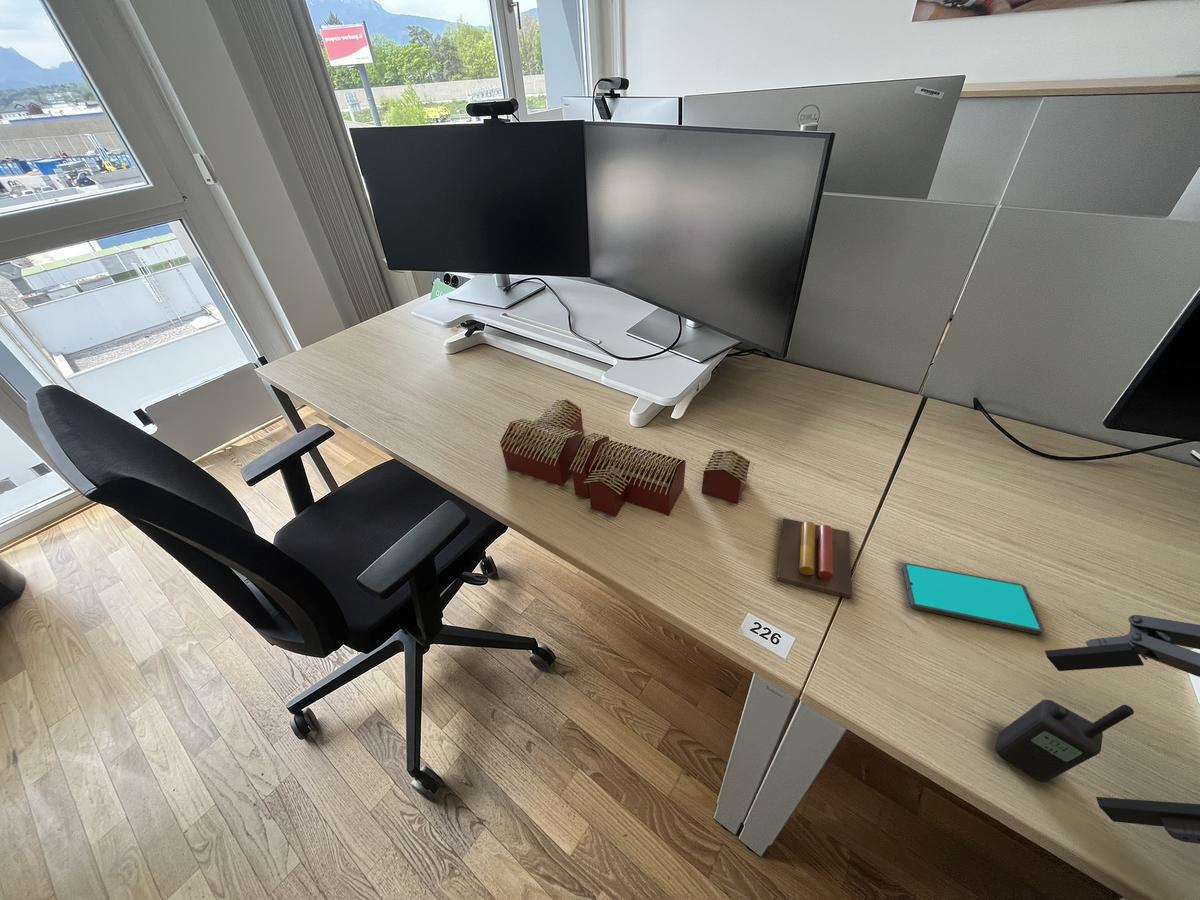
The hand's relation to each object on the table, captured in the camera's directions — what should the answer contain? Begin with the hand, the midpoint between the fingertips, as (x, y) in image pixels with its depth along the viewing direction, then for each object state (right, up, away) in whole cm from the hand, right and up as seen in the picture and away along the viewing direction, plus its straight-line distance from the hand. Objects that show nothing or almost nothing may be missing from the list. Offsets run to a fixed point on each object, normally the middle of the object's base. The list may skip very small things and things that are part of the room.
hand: (1074, 727), depth 45 cm
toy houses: (-41, +22, +44) cm, 64 cm away
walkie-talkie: (0, -7, +6) cm, 9 cm away
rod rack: (-13, +10, +27) cm, 31 cm away
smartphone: (+5, +6, +20) cm, 22 cm away
